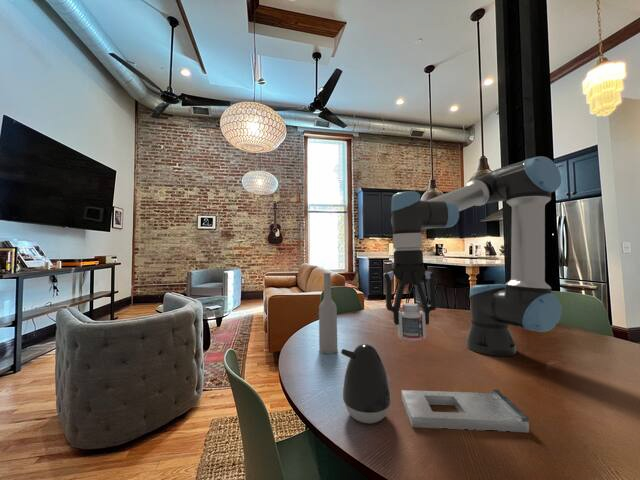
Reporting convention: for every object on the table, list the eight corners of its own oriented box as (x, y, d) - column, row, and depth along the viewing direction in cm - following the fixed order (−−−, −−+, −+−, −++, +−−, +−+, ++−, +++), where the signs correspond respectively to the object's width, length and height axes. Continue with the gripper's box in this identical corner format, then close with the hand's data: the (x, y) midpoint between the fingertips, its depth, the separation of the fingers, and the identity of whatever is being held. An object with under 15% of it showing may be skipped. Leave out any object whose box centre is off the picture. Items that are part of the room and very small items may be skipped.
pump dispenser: (339, 404, 64) (337, 338, 65) (382, 402, 65) (381, 336, 66) (346, 433, 54) (345, 354, 55) (398, 429, 55) (396, 351, 56)
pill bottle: (424, 341, 71) (422, 306, 71) (402, 340, 72) (401, 306, 72) (420, 335, 76) (418, 302, 77) (400, 334, 77) (399, 302, 78)
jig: (498, 402, 64) (497, 389, 65) (529, 432, 54) (528, 417, 54) (401, 398, 67) (401, 386, 67) (412, 427, 56) (411, 412, 56)
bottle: (320, 347, 104) (319, 272, 106) (337, 347, 104) (336, 272, 105) (318, 353, 98) (317, 273, 99) (337, 354, 97) (335, 273, 98)
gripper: (438, 248, 78) (442, 332, 77) (372, 250, 80) (375, 332, 79) (447, 248, 70) (452, 341, 69) (374, 250, 72) (378, 341, 71)
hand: (411, 336), depth 74 cm, fingers closed on pill bottle, 5 cm apart
